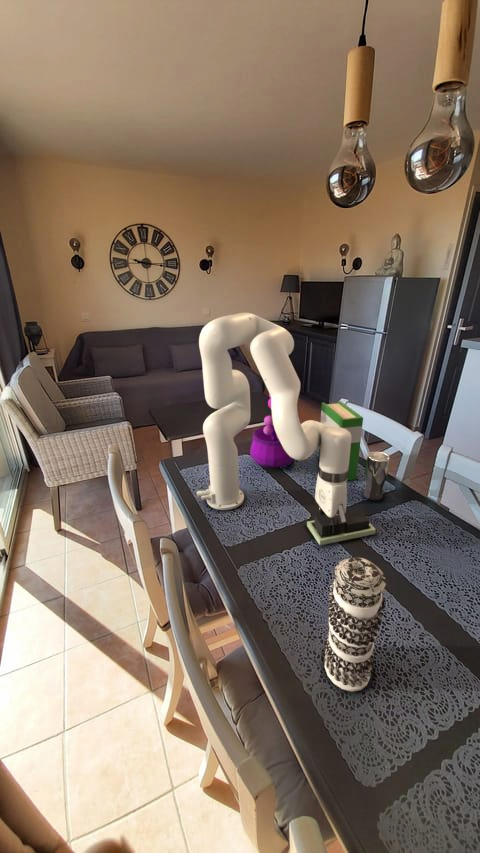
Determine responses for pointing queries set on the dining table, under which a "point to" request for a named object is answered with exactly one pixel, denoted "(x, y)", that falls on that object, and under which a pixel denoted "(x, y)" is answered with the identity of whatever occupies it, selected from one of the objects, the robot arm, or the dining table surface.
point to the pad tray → (339, 536)
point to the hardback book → (350, 421)
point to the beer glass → (376, 474)
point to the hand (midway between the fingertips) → (329, 527)
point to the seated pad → (356, 522)
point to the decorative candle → (353, 622)
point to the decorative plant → (268, 446)
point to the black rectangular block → (325, 524)
